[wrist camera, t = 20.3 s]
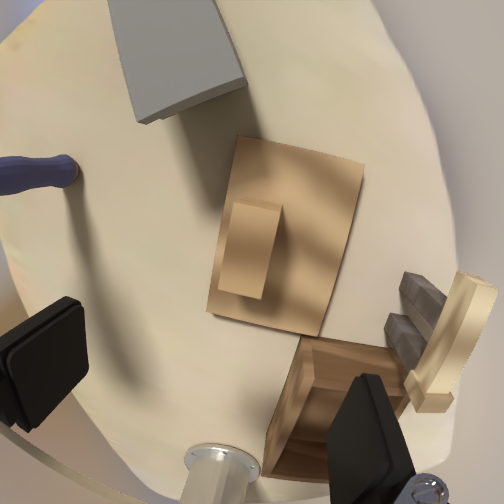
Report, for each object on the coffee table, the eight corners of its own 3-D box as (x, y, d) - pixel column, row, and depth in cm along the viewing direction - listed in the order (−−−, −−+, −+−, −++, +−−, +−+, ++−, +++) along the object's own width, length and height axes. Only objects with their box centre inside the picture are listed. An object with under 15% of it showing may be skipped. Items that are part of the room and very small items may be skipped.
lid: (315, 326, 33) (321, 370, 25) (211, 303, 33) (189, 340, 25) (359, 165, 28) (384, 162, 20) (241, 138, 28) (225, 125, 21)
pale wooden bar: (430, 385, 22) (445, 412, 18) (403, 383, 22) (416, 412, 19) (480, 276, 19) (506, 294, 15) (453, 269, 19) (479, 286, 16)
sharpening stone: (138, -20, 24) (98, -60, 13) (194, -45, 22) (166, -94, 12) (186, 137, 29) (136, 122, 18) (259, 110, 27) (243, 76, 17)
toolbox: (343, 443, 37) (350, 492, 28) (266, 433, 37) (259, 485, 28) (424, 276, 29) (465, 312, 20) (324, 252, 30) (340, 286, 21)
